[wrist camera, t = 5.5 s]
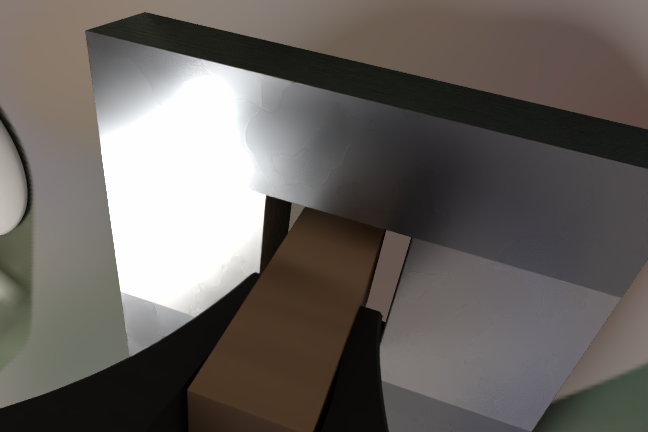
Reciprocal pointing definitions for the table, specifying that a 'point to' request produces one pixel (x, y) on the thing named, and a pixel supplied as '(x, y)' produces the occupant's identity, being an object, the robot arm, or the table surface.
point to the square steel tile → (371, 207)
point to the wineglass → (11, 184)
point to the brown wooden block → (289, 332)
